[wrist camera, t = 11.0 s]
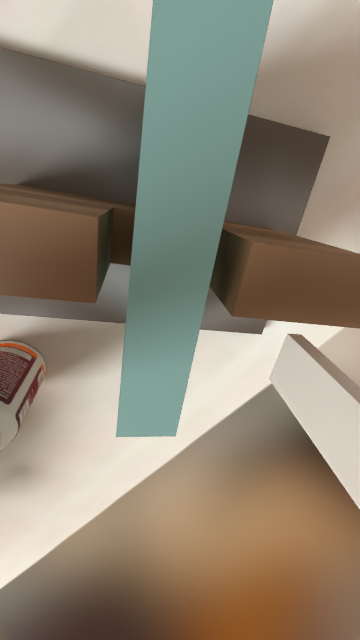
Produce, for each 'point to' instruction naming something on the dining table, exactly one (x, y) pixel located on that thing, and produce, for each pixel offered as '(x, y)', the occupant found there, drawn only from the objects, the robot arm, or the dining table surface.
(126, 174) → the slotted stand
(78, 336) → the dining table surface
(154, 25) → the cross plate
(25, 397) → the pill bottle
